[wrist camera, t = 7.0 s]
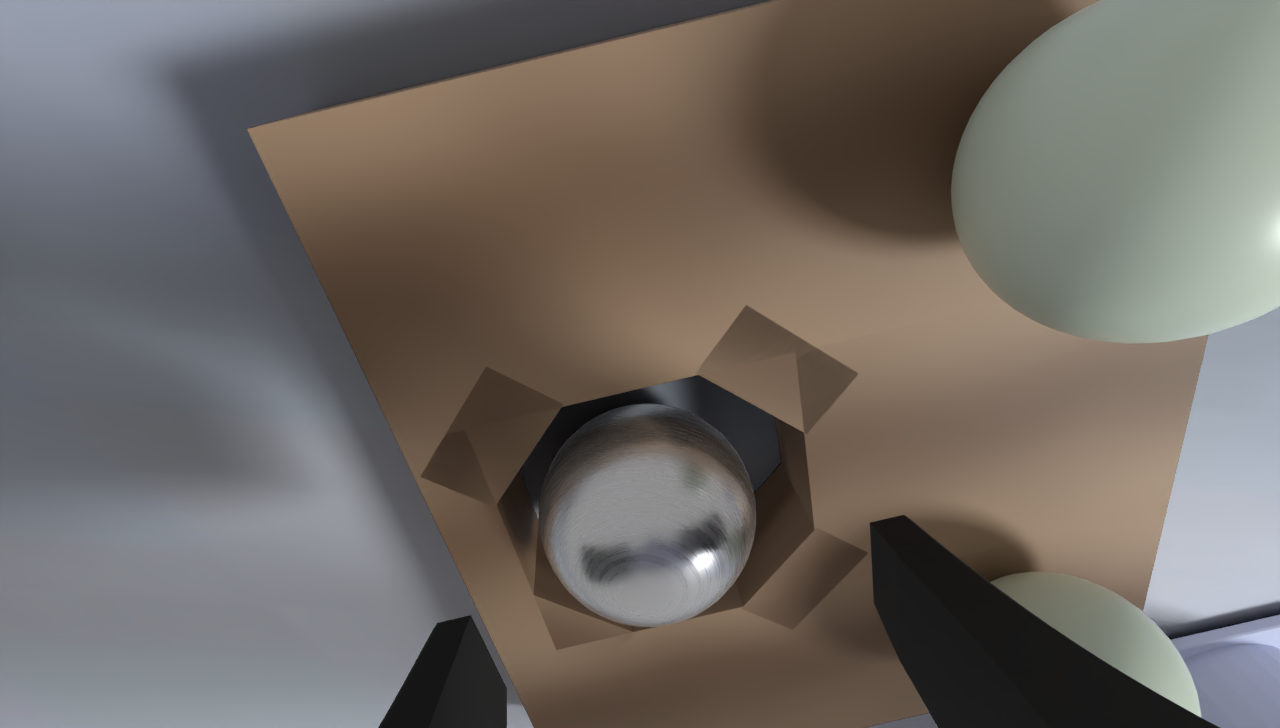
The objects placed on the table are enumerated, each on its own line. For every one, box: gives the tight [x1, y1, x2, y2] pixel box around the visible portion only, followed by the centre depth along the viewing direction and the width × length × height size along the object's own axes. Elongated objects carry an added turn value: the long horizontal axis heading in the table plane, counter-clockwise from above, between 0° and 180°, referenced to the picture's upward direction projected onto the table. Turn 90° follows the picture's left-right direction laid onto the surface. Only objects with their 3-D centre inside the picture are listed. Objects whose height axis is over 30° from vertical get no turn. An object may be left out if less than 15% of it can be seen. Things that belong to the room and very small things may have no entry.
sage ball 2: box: [990, 571, 1201, 717], centre depth 14 cm, size 5×5×5 cm
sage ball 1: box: [951, 0, 1280, 343], centre depth 9 cm, size 5×5×5 cm
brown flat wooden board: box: [247, 0, 1208, 728], centre depth 15 cm, size 18×16×2 cm
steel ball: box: [539, 404, 756, 627], centre depth 14 cm, size 5×5×5 cm
